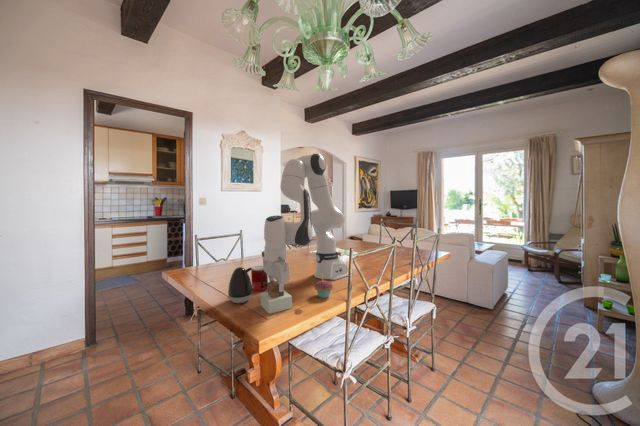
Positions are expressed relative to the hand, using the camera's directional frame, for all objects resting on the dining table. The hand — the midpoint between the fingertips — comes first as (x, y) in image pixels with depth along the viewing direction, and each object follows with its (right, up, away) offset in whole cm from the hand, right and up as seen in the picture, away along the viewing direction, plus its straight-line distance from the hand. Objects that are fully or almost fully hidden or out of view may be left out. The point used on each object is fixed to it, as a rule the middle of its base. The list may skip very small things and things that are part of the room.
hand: (276, 287), depth 106 cm
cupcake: (+20, -7, +12) cm, 24 cm away
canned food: (-12, -7, +21) cm, 25 cm away
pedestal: (0, -8, 0) cm, 8 cm away
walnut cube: (0, -3, 0) cm, 3 cm away
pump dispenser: (-17, -8, +6) cm, 20 cm away
